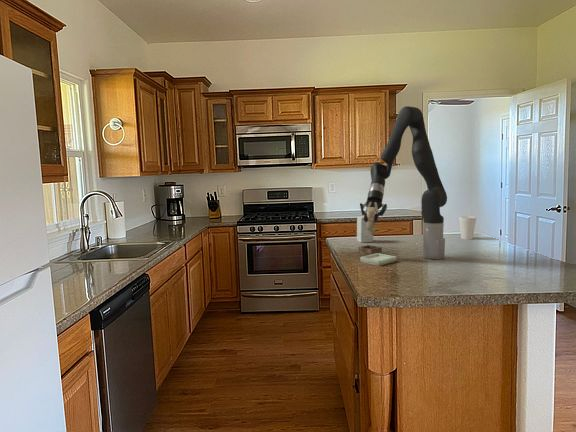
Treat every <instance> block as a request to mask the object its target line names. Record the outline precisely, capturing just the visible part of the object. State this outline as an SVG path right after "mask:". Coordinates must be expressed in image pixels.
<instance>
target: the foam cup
mask: <svg viewBox="0 0 576 432" xmlns="http://www.w3.org/2000/svg"><path fill="white" fill-rule="evenodd" d="M458 221H459V229H460V230H459V231H460V238H461V240H462V239H463V240H473V238H474V233H475V226H476V222H477V217H476V216H473V215H472V216H470V215H464V216H463V215H460V216H459V217H458Z"/></svg>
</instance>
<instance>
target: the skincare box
mask: <svg viewBox="0 0 576 432" xmlns="http://www.w3.org/2000/svg"><path fill="white" fill-rule="evenodd" d="M356 218H357V219H356V241H357V242H359V243H371V242H374V232H373V233H370V232H367V222H365V221H364V216H357V217H356Z"/></svg>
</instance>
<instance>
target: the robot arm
mask: <svg viewBox="0 0 576 432" xmlns="http://www.w3.org/2000/svg"><path fill="white" fill-rule="evenodd" d="M408 127H409V129H410V132H411V136H412V144H411V156H412V159H413V163H414V165H415V168H416V170H417V171H418V172H419V174H420V175H421V177H422V178H423V179H424V181H425V183H426V187H427V190H425V191H424V192H423V193H422V195H421V201H420V203H421V217H422V220H423V221H422V222H423V223H422V258H423V259H428V260H441V259H445V256H446V255H445V254H446V252H445V251H446V249H445V248H446V238H444V223H445V222H444V219H445V218H444V216H443V215H442V214H441V209H440V208H442V207H444V206H445V205H446V204H447V202H448V195H447V192H446V189H445V187H444V185H443V182H442V180H441V178H440V173H439V171H438V167H437V165H436V161H435V157H434V153H433V150H432V148H431V144H430V141H429V137H428V135H427V130H426V124H425V120H424V114H423V111H422V109H420V108H419V107H414V106H407V105H406V106H403V107H402V108H401V109H400V110H399V112H398V115H397V117H396V119H395V123H394V126H393V129H392V132H391V135H390V138H389V139H388V141H387V143H386V145H385V147H384V149H383V151H382V153H381V155H380V159H381V160H382V161H383V162H385V164H386V165H385V164H383V163H380V162H374V163H372V165H371V167H370V170H369V171H370V177H371V183H370V185H369V188H368V194H367V197H366V198H367V199H366V201H365V203H362V202H360V203H359V208H360V212H361V216H363V217H364V221H365V222H367V207H375V217H374V222H375V224H376V223H377V222H378V221H379V217H380V216H381V217H382V216H384V214H385V213H386V211H387V209H388V205H387V203H385V204H384V203H383V198H384V195H385V186H386V180H387V179H389V178H390V176H391V173H392V167H393V165H394V161H395V160H396V158H397V156H398V154H399V152H400V150H401V147H402V146H401V144H402V139H403V135H404V133H405V132H406V130H407V128H408ZM365 207H366V209H365ZM364 209H365V210H364ZM379 209H380V211H379Z"/></svg>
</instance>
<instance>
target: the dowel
mask: <svg viewBox="0 0 576 432" xmlns="http://www.w3.org/2000/svg"><path fill="white" fill-rule="evenodd" d="M366 208H367V232H370V233H373V234H374V233H376V223H375V222H374V217H375V214H376V211H375V207H366Z"/></svg>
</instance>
